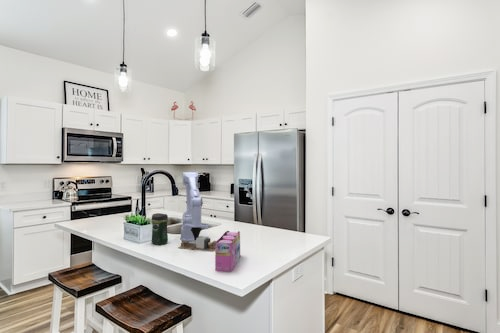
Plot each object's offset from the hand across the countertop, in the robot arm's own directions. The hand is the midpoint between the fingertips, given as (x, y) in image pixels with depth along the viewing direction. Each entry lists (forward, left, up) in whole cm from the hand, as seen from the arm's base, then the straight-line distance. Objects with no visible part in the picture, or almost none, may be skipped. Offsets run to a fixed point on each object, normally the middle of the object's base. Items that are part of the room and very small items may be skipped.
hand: (196, 240), depth 171 cm
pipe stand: (+1, 0, -4) cm, 5 cm away
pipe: (+1, 0, -3) cm, 3 cm away
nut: (+7, 0, -4) cm, 8 cm away
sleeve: (+4, 0, -4) cm, 6 cm away
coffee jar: (-26, +2, -4) cm, 26 cm away
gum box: (+27, -19, -5) cm, 33 cm away
